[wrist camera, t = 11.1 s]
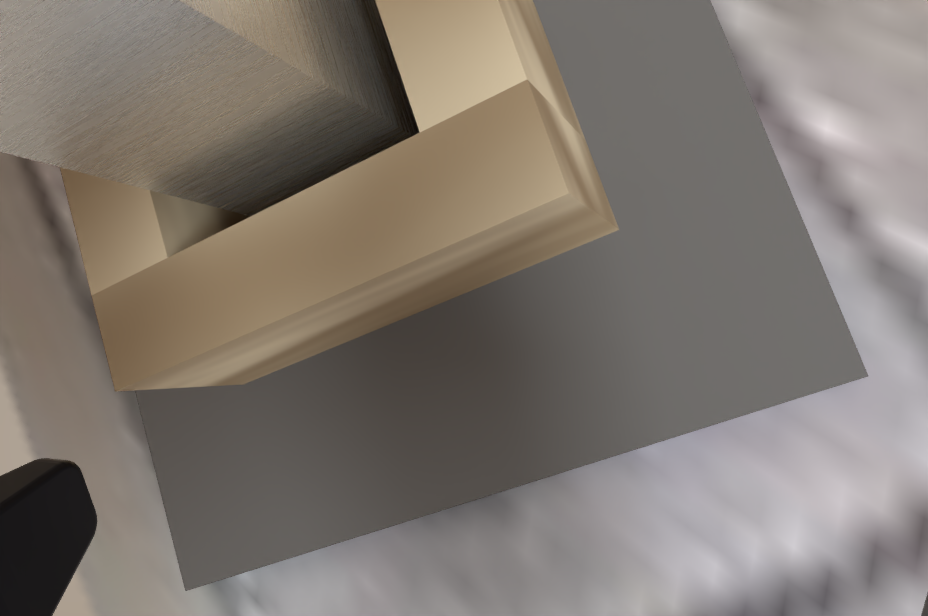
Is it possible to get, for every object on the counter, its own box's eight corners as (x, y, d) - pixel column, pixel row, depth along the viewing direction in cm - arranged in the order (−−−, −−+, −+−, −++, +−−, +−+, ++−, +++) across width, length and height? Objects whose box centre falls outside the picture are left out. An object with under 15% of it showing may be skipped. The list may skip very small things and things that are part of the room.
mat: (864, 375, 15) (868, 375, 15) (207, 582, 21) (185, 590, 20) (548, -378, 18) (538, -408, 18) (49, -31, 24) (25, -44, 23)
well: (618, 229, 16) (569, 193, 13) (243, 384, 20) (115, 391, 16) (469, -168, 18) (387, -303, 14) (146, 34, 21) (10, -34, 18)
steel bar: (455, 160, 18) (-173, -205, 6) (306, 230, 19) (-440, 39, 8) (401, 1, 18) (-252, -594, 7) (261, 79, 20) (-485, -309, 8)
